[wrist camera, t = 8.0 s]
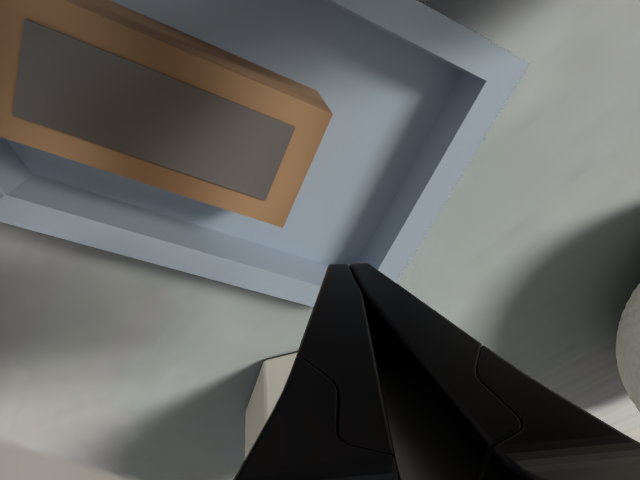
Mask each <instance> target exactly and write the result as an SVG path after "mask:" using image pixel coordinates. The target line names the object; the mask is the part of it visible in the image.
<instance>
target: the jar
mask: <svg viewBox="0 0 640 480" xmlns="http://www.w3.org/2000/svg"><path fill="white" fill-rule="evenodd" d="M296 355H297V352H296V353H292V354H288V355H284V356H280V357H276V358H272V359H268V360H265V361H264V362H263V365H262V367H261V370H260V373H259V376H258V379H257V381H256V384H255V387H254V390H253V393H252V395H251V398H250V401H249V404H248V406H247V409H246V413H245V459H246V457H247V455H248V453H249V451H250V450H251V448H252V446H253V444H254V443H255V441H256V439H257V437H258V436H259V434H260V432H261V430H262V428H263V427H264V425H265V423H266V421H267V420H268V418H269V416H270V414H271V413H272V411H273V409H274V407H275V405H276V403H277V401H278V399H279V397H280V395H281V393H282V391H283V388H284V386H285V384H286V381H287V379H288V376H289V374H290V371H291V369H292V366H293V363H294V360H295V358H296Z"/></svg>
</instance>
